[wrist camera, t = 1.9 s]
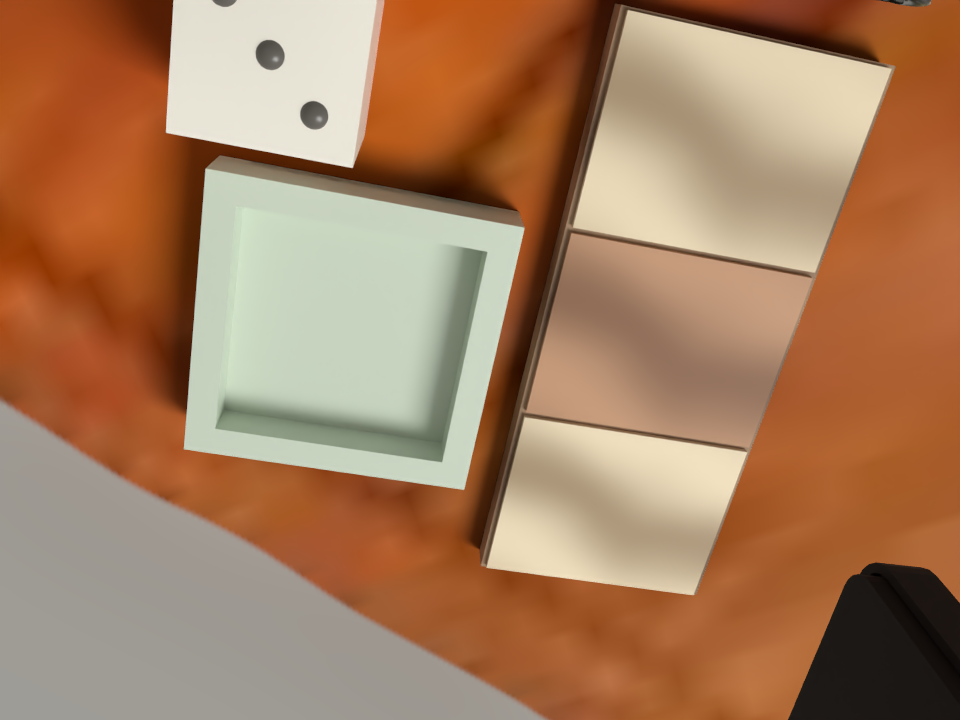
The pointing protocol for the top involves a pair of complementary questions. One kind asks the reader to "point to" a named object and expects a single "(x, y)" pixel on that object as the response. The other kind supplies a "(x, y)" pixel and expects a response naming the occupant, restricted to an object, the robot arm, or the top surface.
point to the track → (673, 295)
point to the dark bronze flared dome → (910, 2)
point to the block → (274, 74)
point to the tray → (345, 322)
